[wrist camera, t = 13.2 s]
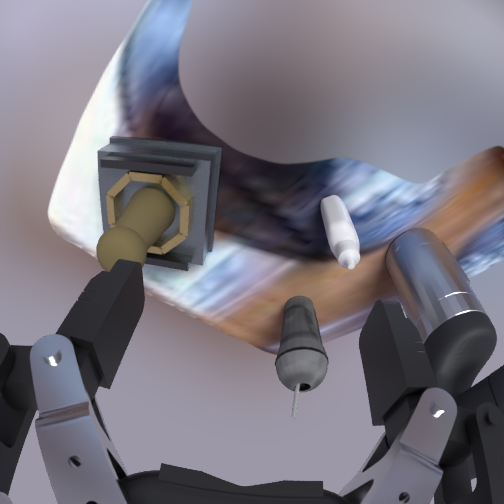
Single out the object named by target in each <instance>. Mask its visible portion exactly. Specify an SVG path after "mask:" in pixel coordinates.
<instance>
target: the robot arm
mask: <svg viewBox="0 0 504 504" xmlns="http://www.w3.org/2000/svg"><path fill="white" fill-rule="evenodd" d="M386 266H387V268H388V271H389V273H390V276H391V278H392V280H393V283H394V286H395V288H396V291H397V293H398V296H399V298H400V301H401V303H402V306H403V308H404V311H405V313H406V316H407V318H405V316H404V313H403V310H402V308H401V305H400V304H399V303H398V302H390V301H382V300H378V301H377V302H376V303H375V305H374V307H373V309H372V311H371V313H370V315H369V317H368V319H367V321H366V323H365V325H364V327H363V328H362V331H361V333H360V338H359V348H360V354H361V358H362V364H363V369H364V375H365V380H366V386H367V392H368V397H369V404H370V411H371V417H372V424H373V426H377V425H379V426H380V425H385V432H384V433H383V434H382V436H381V437H380V439H379V441H378V442H377V444H376V446H375V447H374V449H373V450H372V452H371V453H370V455H369V456H368V458H367V459H366V461H365V462H364V464H363V465H362V467H361V468H360V470H359V471H358V473H357V474H356V475H355V476H354V477H353V479H352V480H351V481H350V482H349V483H348V484H347V485H346V486H345V487H344V488H343V489H342V490H341V491H340V493H339V494H336V493H333V492H330V491H327V490H324V489H323V481H285V480H284V481H279V482H273V483H267V484H260V485H254V486H239V485H236V484H233V483H230V482H227V481H225V480H222V479H220V478H217V477H214V476H212V475H209V474H207V473H204V472H202V471H197V470H192V469H187V468H181V467H177V466H172V465H167V464H163V463H162V464H161V468H160V470H154V471H144V472H140V473H135V474H132V475H128V473H127V471H126V469H125V467H124V464H123V462H122V461H121V459H120V456H119V454H118V452H117V451H116V449H115V447H114V444H113V442H112V440H111V437H110V435H109V433H108V430H107V427H106V425H105V422H104V419H103V417H102V414H101V411H100V408H99V405H98V403H97V400H96V397H95V394H96V392H97V389H98V387H99V386H101V387H104V388H108V389H110V387H111V385H112V382H113V380H114V377H115V374H116V372H117V370H118V367H119V365H120V363H121V360H122V358H123V355H124V353H125V350H126V348H127V346H128V344H129V341H130V339H131V337H132V335H133V332H134V330H135V328H136V326H137V323H138V321H139V319H140V317H141V314H142V312H143V307H144V301H145V296H144V285H143V274H142V266H141V263H140V262H135V261H129V260H124V259H118V260H117V261H116V263H115V264H114V266H113V267H112V269H111V270H110V272H106V271H102V272H101V273H99V274H98V275H96V276H95V277H94V278H92V279H91V280H90V282H89V283H88V285H87V286H86V287H85V289H84V292H82V294H81V295H80V296H79V298H78V301H76V303H75V304H74V306H73V307H72V308H71V310H70V312H69V313H68V315H67V316H66V318H65V319H64V321H63V323H62V324H61V326H60V327H59V329H58V331H57V332H56V334H52V335H47V336H44V337H43V338H40V339H39V340H38V341H37V342H36V343H35V344H34V345H33V346H17V345H10V344H9V342H8V340H7V339H6V337H5V336H4V335H3V334H1V333H0V504H12V502H11V500H10V498H9V497H8V494H9V490H10V486H11V483H12V479H13V476H14V472H15V469H16V466H17V463H18V460H19V457H20V454H21V451H22V448H23V445H24V442H25V439H26V436H27V434H28V431H29V428H30V426H31V423H32V420H33V418H34V415H35V413H36V410H39V418H38V419H36V421H35V428H36V433H37V437H38V441H39V445H40V449H41V453H42V456H43V460H44V463H45V466H46V470H47V473H48V476H49V479H50V483H51V486H52V488H53V491H54V494H55V497H56V499H57V502H58V504H430V502H431V499H432V498H433V495H434V504H504V365H503V366H501V367H500V368H499V369H497V370H496V371H494V372H493V373H491V374H490V375H489V376H487V377H486V378H485V379H483V380H482V381H480V382H479V383H477V384H476V385H474V386H473V387H471V386H472V383H473V382H474V380H475V378H476V376H477V375H478V373H479V372H480V370H481V369H482V368H483V366H484V365H485V364H486V362H487V361H488V360H489V358H490V356H491V355H492V353H493V351H494V349H495V346H496V342H497V341H496V340H497V335H496V331H495V328H494V326H493V324H492V322H491V321H490V319H489V317H488V316H487V314H486V312H485V311H484V309H483V307H482V305H481V304H480V302H479V300H478V299H477V297H476V295H475V294H474V292H473V290H472V289H471V288H470V286H469V284H470V281H469V279H468V277H467V276H466V274H465V273H464V271H463V270H462V268H461V267H460V265H459V264H458V262H457V261H456V259H455V258H454V256H453V255H452V253H451V252H450V251H449V249H448V248H447V246H446V245H445V244H444V243H442V242H440V241H439V239H438V238H437V237H436V235H435V234H434V233H433V232H431V231H429V230H426V229H412V230H409V231H407V232H405V233H403V234H401V235H400V236H399V237H397V238H396V239H395V240H394V241H393V243H392V244H391V245H390V247H389V249H388V252H387V255H386ZM474 478H477V484H476V488H475V490H474V491H473V492H472V487H471V479H474Z"/></svg>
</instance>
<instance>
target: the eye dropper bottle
mask: <svg viewBox="0 0 504 504" xmlns="http://www.w3.org/2000/svg"><path fill="white" fill-rule="evenodd" d="M321 214H322V218H323V222H324V226H325V230H326V234H327V239H328V242H329V246H330V248H331V251H332V252H333V254H334V255H335V257H336V258H337V260H338V263H339V264H340V265H341V266H342V267H345V268H349V269H354V267H355V265H356V264H357V263H358V262H359V260H360V254H359V239H358V236H357V233H356V231H355V228H354V226H353V223H352V221H351V218H350V216H349V213H348V211H347V209H346V206H345V205H344V203H343V202H342V200H341V199H340V198H339V197H338V196H337V195H332V196H329V197H326V198H324V199H322V201H321Z"/></svg>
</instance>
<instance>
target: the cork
mask: <svg viewBox="0 0 504 504" xmlns="http://www.w3.org/2000/svg"><path fill="white" fill-rule="evenodd" d="M174 218H175V208H174V204H173V202H172V200H171V199H170V198H169V196H168V195H167V194H166V193H164V192H163V191H161V190H159V189H156V188H152V187H147V188H142V189H140V190H138V191H137V192H135V193H134V194H133V196H132V197H131V199H130V201H129V203H128V204H127V206H126V208H125V209H124V211H123V213H122V215H121V216H120V218H119V220H118V222H117V224H116V225H115V227H112V228H110V229H108V230H107V231H106V232H105V233H104V234H103V235H102V236H101V237H100V239H99V241H98V244H97V258H98V261H99V263H100V265H101V266H102V267H103V268H104V269H105V270H106V271H107V272H110V270H111V269H112V267H113V266H114V264H115V263H116V261H117V260H118V259H124V260H129V261H135V262H140V263H141V266H142V267H143V265H144V263H145V261H146V256H147V250H148V249H149V248H150V247H151V246H152V245H153V244H154V243H155V242H156V241H157V240H158V238H159V237H160V236H161V235H162V234H163V233H164V232H165V231H166V230H167V229H168V228H169V227H170V226H171V224H172V223H173V221H174Z"/></svg>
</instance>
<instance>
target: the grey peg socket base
mask: <svg viewBox="0 0 504 504" xmlns="http://www.w3.org/2000/svg"><path fill="white" fill-rule="evenodd" d="M222 151H223V146H218V145H210V144H202V143H193V142H183V141H173V140H161V139H149V138H134V137H116V136H112V137H110V144H108V145H106V146H105V147H103V148H101V149H100V150H98V173H99V188H100V201H101V212H102V222H103V231H104V233H105V232H106V231H107V230H108V229H110V228H112V227H115V225H116V224H117V222H118V220H119V218H120V216H121V215H122V213H123V211H124V209H125V208H126V206H127V204H128V203H129V201H130V199H131V197H132V196H133V194H134V193H135V192H137V191H138V190H140V189H142V188H147V187H152V188H156V189H159V190H161V191H163V192H164V193H166V194H167V195H168V196H169V198H170V199H171V200H172V202H173V204H174V208H175V218H174V221H173V223H172V224H171V226H170V227H169V228H168V229H167V230H166V231H165V232H164V233H163V234H162V235H161V236H160V237H159V238H158V240H157V241H156V242H155V243H154V244H153V245H152V246H151V247H150V248H149V249H148V250H147V256H146V261H145V263H146V264H151V265H157V266H163V267H168V268H174V269H180V270H186V271H188V269H189V266H190V264H197V265H203V263H204V260H205V257H206V254H207V251H212V249H213V240H214V229H215V218H216V208H217V197H218V188H219V178H220V169H221V160H222Z"/></svg>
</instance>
